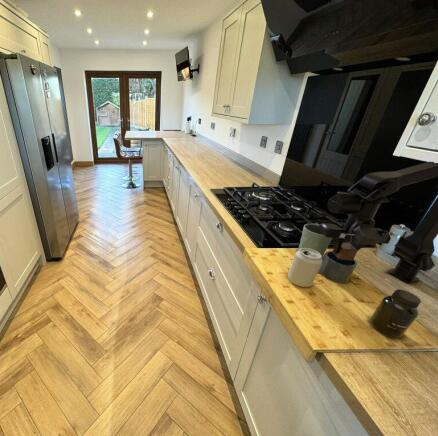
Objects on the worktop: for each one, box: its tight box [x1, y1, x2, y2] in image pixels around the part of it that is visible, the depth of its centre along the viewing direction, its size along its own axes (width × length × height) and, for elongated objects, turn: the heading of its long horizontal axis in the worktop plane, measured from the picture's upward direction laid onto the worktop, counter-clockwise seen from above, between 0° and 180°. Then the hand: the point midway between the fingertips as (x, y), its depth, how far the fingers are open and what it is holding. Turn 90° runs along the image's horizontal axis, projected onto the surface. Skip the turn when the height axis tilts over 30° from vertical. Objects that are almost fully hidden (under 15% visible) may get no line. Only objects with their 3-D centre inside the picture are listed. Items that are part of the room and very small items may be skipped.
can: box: [287, 248, 323, 288], centre depth 79 cm, size 8×8×12 cm
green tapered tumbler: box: [297, 223, 333, 259], centre depth 94 cm, size 10×10×12 cm
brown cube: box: [331, 242, 359, 261], centre depth 82 cm, size 4×4×4 cm
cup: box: [318, 250, 358, 283], centre depth 84 cm, size 9×9×7 cm
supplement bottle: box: [369, 288, 422, 339], centre depth 62 cm, size 7×7×12 cm
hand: (342, 254), depth 82 cm, fingers closed on brown cube, 4 cm apart
